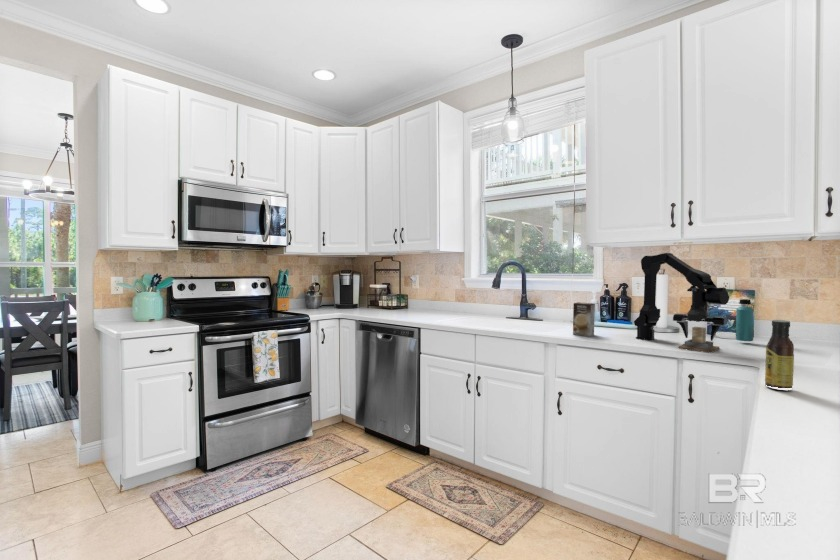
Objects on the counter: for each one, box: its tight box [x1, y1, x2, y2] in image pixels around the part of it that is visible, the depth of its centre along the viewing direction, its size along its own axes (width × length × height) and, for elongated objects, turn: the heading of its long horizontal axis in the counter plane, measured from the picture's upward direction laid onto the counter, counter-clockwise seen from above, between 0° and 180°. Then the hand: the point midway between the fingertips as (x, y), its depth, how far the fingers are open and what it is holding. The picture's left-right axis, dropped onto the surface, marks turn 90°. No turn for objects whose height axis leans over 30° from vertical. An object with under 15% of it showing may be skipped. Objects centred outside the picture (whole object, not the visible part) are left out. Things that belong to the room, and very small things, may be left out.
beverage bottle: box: [735, 298, 755, 342], centre depth 197 cm, size 6×7×20 cm
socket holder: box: [677, 338, 720, 353], centre depth 185 cm, size 12×12×3 cm
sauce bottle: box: [764, 319, 795, 389], centre depth 125 cm, size 7×6×20 cm
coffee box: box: [572, 301, 596, 337], centre depth 222 cm, size 9×6×16 cm
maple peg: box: [691, 326, 707, 344], centre depth 185 cm, size 4×4×8 cm
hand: (698, 339), depth 185 cm, fingers open, 9 cm apart
